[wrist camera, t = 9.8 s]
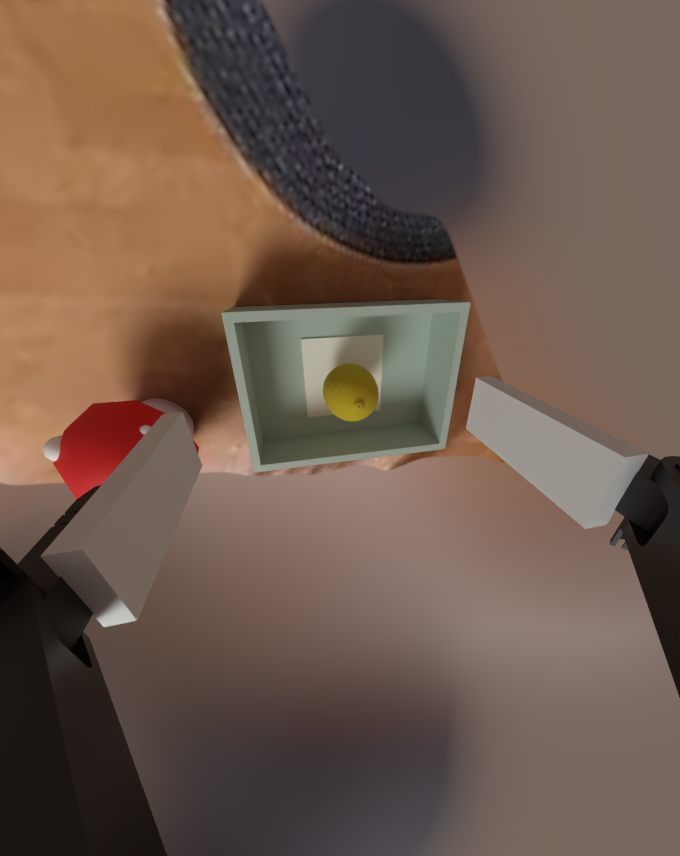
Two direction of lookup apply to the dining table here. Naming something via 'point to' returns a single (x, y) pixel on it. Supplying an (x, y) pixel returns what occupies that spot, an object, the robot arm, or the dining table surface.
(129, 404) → the mushroom
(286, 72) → the dining table surface
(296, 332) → the crate
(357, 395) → the lemon
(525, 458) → the robot arm
